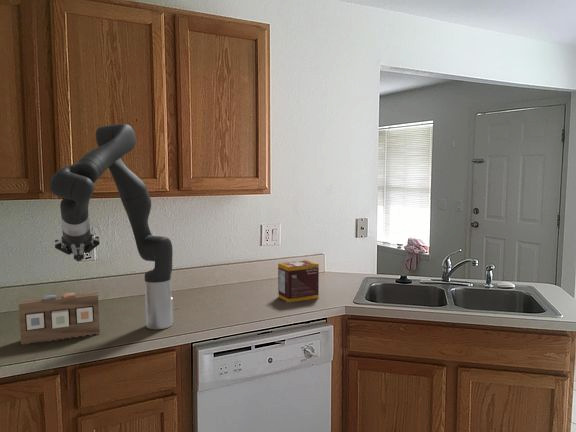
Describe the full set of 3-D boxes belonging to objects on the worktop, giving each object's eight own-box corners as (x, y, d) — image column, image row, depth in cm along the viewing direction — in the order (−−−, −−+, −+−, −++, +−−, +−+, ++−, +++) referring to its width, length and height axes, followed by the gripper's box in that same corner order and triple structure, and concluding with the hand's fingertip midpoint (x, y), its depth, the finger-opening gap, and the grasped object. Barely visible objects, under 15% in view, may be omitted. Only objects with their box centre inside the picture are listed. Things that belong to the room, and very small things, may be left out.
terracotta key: (77, 319, 163) (76, 305, 162) (92, 317, 165) (91, 303, 164) (77, 323, 158) (76, 309, 158) (93, 321, 160) (92, 307, 160)
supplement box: (319, 298, 206) (319, 263, 204) (288, 302, 199) (288, 267, 198) (307, 292, 215) (307, 259, 214) (278, 297, 208) (277, 263, 207)
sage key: (53, 324, 158) (52, 310, 157) (69, 322, 160) (68, 308, 159) (52, 328, 153) (51, 314, 153) (69, 326, 155) (68, 312, 155)
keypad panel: (22, 339, 157) (20, 297, 156) (99, 329, 167) (97, 289, 166) (21, 345, 152) (18, 301, 151) (99, 334, 162) (97, 293, 161)
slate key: (28, 325, 156) (27, 311, 156) (45, 323, 158) (44, 309, 158) (27, 330, 152) (26, 315, 152) (44, 328, 154) (43, 313, 154)
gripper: (99, 213, 139) (100, 247, 151) (50, 216, 134) (55, 251, 146) (101, 233, 135) (102, 266, 147) (50, 237, 129) (56, 271, 142)
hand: (78, 258), depth 147 cm, fingers closed
